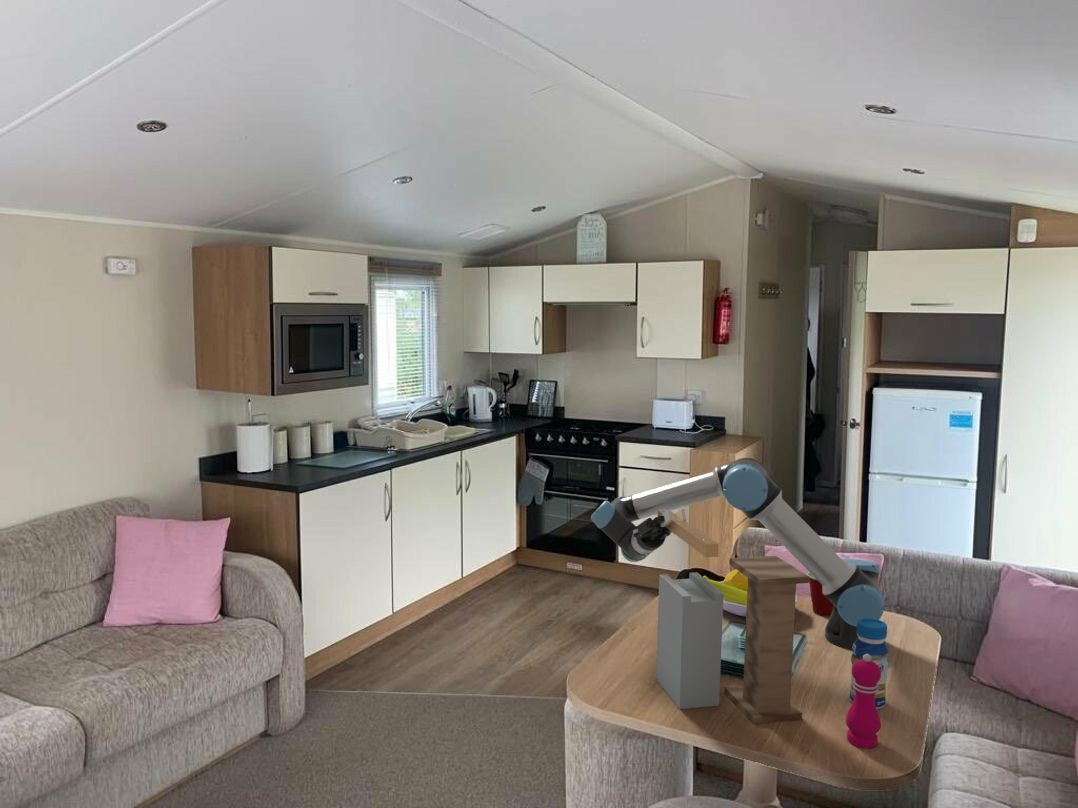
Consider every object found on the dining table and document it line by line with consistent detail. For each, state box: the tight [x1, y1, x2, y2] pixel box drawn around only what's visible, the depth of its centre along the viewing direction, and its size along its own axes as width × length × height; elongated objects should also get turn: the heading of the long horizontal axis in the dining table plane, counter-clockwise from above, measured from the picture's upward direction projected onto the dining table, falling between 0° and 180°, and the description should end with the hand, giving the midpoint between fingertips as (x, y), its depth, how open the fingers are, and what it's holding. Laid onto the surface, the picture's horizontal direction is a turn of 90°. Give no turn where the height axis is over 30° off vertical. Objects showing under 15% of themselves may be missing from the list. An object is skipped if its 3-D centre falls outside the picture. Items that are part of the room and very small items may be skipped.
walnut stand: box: [723, 555, 809, 725], centre depth 205 cm, size 16×12×34 cm
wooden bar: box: [656, 510, 720, 558], centre depth 213 cm, size 32×3×3 cm, turn 12°
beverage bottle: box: [849, 618, 890, 710], centre depth 208 cm, size 8×8×20 cm
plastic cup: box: [806, 571, 833, 616], centre depth 269 cm, size 11×11×12 cm
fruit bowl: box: [702, 568, 797, 618], centre depth 270 cm, size 28×27×11 cm
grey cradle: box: [655, 571, 724, 710], centre depth 212 cm, size 16×10×28 cm, turn 12°
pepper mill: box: [845, 654, 882, 749], centre depth 190 cm, size 7×7×20 cm
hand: (676, 514), depth 219 cm, fingers closed on wooden bar, 3 cm apart
